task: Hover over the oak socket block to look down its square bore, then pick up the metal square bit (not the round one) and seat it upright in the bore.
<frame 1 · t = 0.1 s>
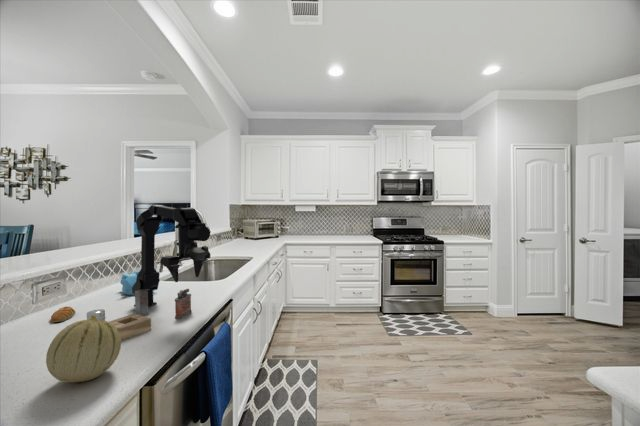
hand: (187, 279, 115), 15 cm above the counter, tool pointing down, fingers open, 9 cm apart
cantaloupe: (86, 378, 74), on the counter
socket block: (128, 332, 101), on the counter
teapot: (139, 292, 150), on the counter
pastry: (63, 319, 115), on the counter
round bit: (96, 328, 105), on the counter
square bit: (141, 315, 117), on the counter
lighter: (183, 315, 117), on the counter
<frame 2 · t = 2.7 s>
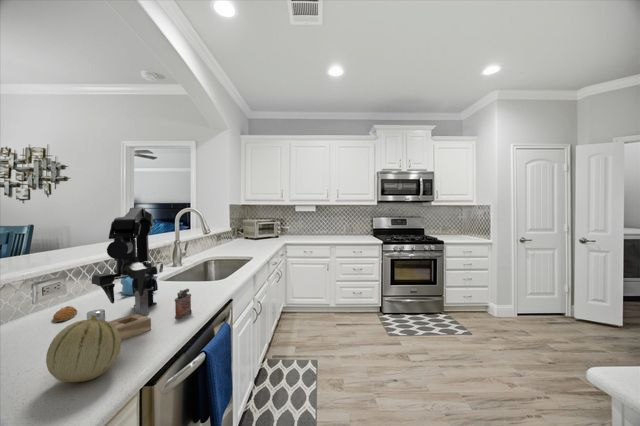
hand: (127, 299, 101), 11 cm above the counter, tool pointing down, fingers open, 9 cm apart
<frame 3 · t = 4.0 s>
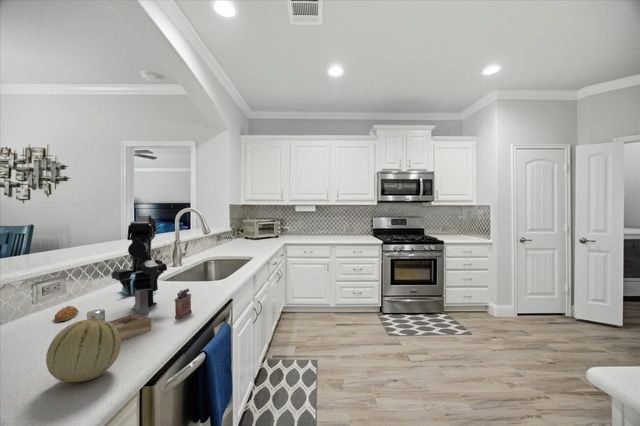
hand: (141, 292, 117), 9 cm above the counter, tool pointing down, fingers open, 9 cm apart
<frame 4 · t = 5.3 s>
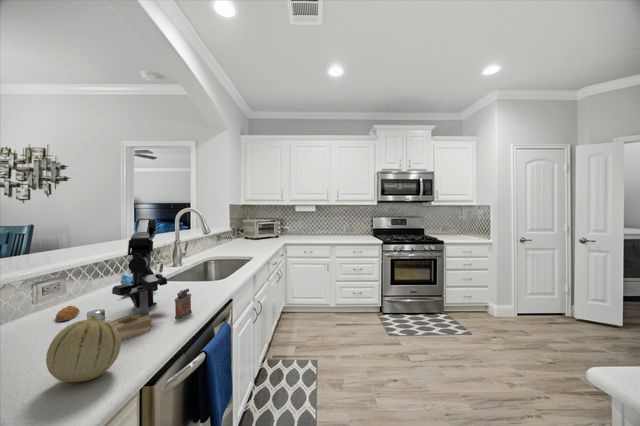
hand: (141, 306, 117), 4 cm above the counter, tool pointing down, fingers closed on square bit, 3 cm apart
square bit: (141, 315, 117), on the counter, touching gripper
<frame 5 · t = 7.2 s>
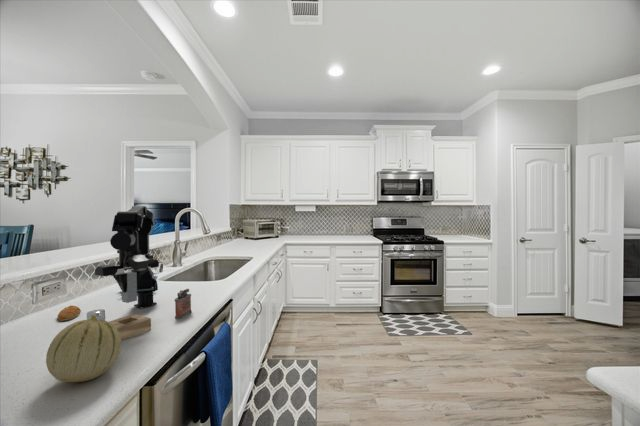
hand: (129, 291, 103), 14 cm above the counter, tool pointing down, fingers closed on square bit, 3 cm apart
square bit: (129, 301, 103), point 10 cm above the counter, touching gripper
when the fingers open (5 cm above the counter, at t = 9.5 s): square bit drops 2 cm, resting on socket block.
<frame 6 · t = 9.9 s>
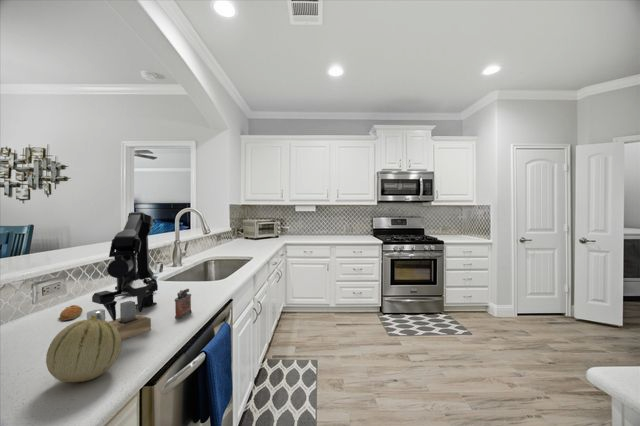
hand: (127, 316, 101), 5 cm above the counter, tool pointing down, fingers open, 8 cm apart
square bit: (128, 331, 101), resting on socket block
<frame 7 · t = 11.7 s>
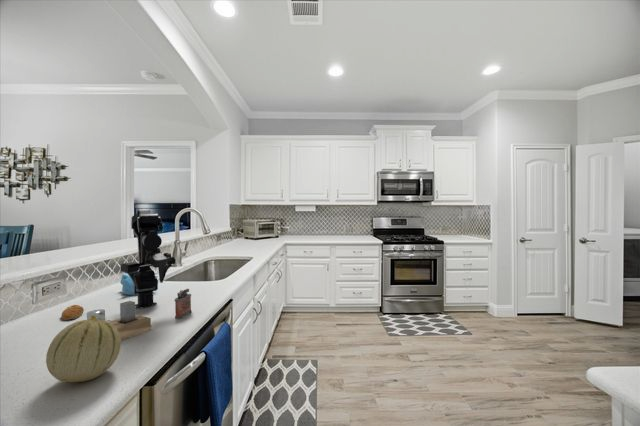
hand: (150, 285, 115), 12 cm above the counter, tool pointing down, fingers open, 9 cm apart
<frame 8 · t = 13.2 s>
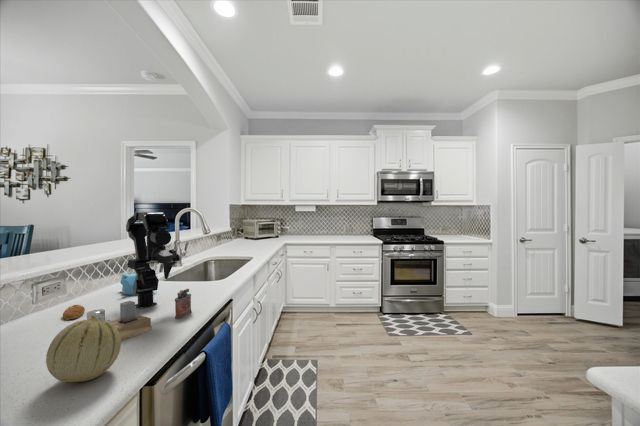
hand: (155, 281, 119), 13 cm above the counter, tool pointing down, fingers open, 9 cm apart
at the end: square bit 0.1 cm off-centre on the socket block, point 0.2 cm above the socket block's base; square bit tilted 0°; the gripper is holding nothing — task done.
